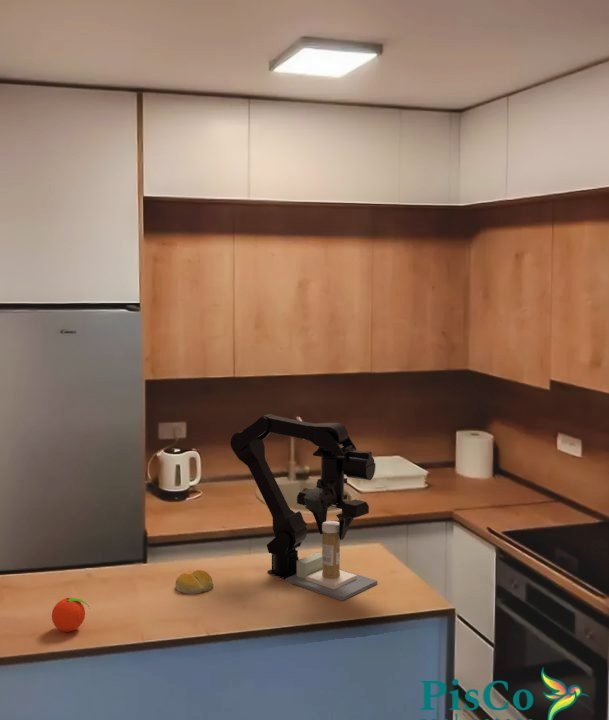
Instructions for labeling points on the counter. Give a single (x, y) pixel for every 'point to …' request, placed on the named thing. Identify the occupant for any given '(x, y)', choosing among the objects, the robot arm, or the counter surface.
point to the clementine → (68, 614)
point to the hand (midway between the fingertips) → (331, 536)
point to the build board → (328, 579)
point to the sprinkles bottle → (331, 549)
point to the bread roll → (194, 582)
